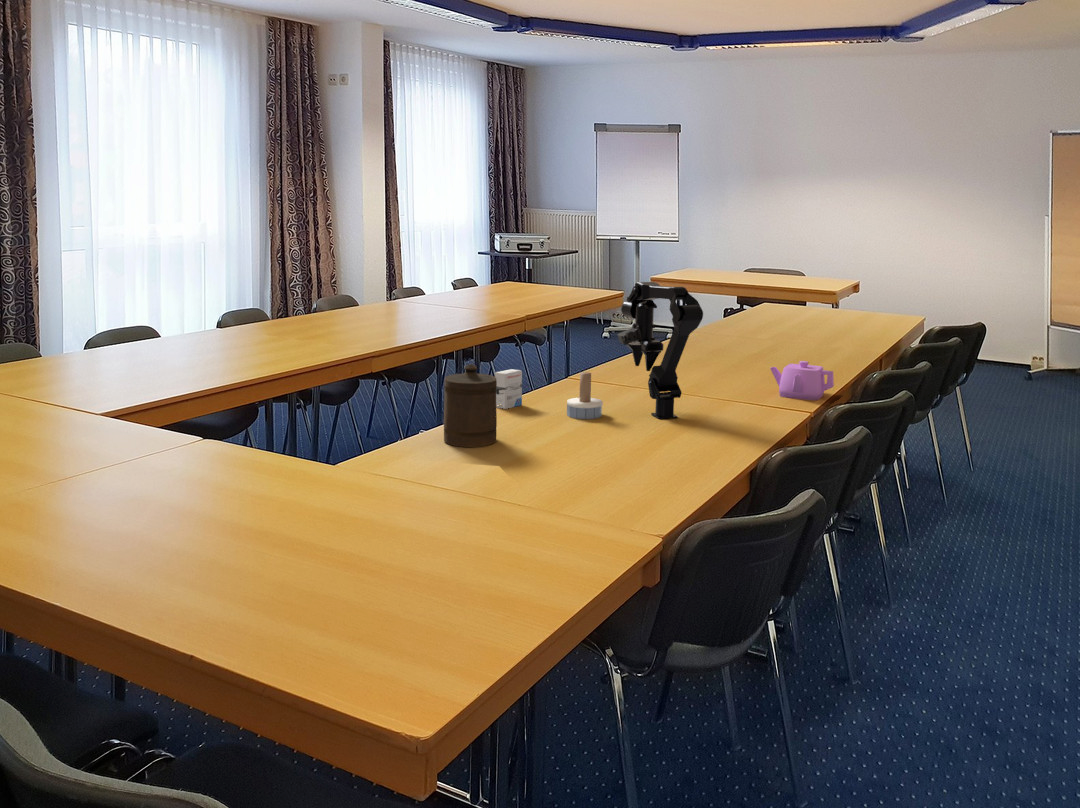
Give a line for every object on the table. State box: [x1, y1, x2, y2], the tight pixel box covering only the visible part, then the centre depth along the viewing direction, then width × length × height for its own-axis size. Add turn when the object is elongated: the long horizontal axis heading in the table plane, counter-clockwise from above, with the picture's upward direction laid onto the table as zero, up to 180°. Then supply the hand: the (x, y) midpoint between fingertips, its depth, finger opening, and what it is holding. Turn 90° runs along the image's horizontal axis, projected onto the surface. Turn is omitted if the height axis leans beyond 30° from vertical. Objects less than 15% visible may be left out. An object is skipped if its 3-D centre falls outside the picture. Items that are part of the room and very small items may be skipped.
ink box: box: [494, 368, 523, 410], centre depth 312 cm, size 8×5×12 cm, turn 141°
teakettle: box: [769, 360, 835, 401], centre depth 335 cm, size 17×17×12 cm
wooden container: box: [443, 363, 498, 448], centre depth 268 cm, size 15×15×22 cm
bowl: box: [566, 404, 603, 420], centre depth 302 cm, size 11×11×4 cm
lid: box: [566, 371, 604, 408], centre depth 301 cm, size 11×11×10 cm
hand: (642, 368), depth 312 cm, fingers open, 9 cm apart
